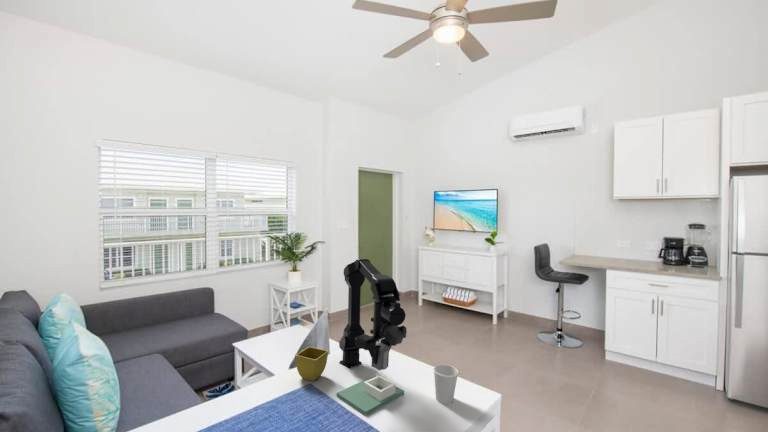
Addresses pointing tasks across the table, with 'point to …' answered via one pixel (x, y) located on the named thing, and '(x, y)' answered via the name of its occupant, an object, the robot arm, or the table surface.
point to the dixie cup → (445, 383)
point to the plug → (382, 357)
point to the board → (370, 394)
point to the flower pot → (311, 362)
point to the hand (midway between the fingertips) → (379, 361)
